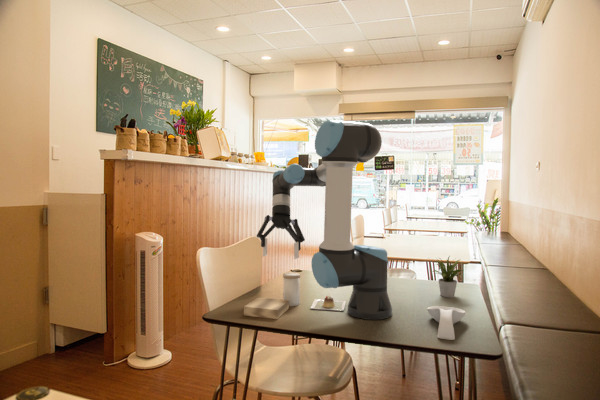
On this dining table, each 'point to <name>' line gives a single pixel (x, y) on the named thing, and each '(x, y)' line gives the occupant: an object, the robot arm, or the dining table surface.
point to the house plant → (448, 278)
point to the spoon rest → (446, 320)
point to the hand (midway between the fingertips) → (281, 256)
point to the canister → (291, 288)
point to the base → (266, 308)
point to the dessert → (328, 303)
